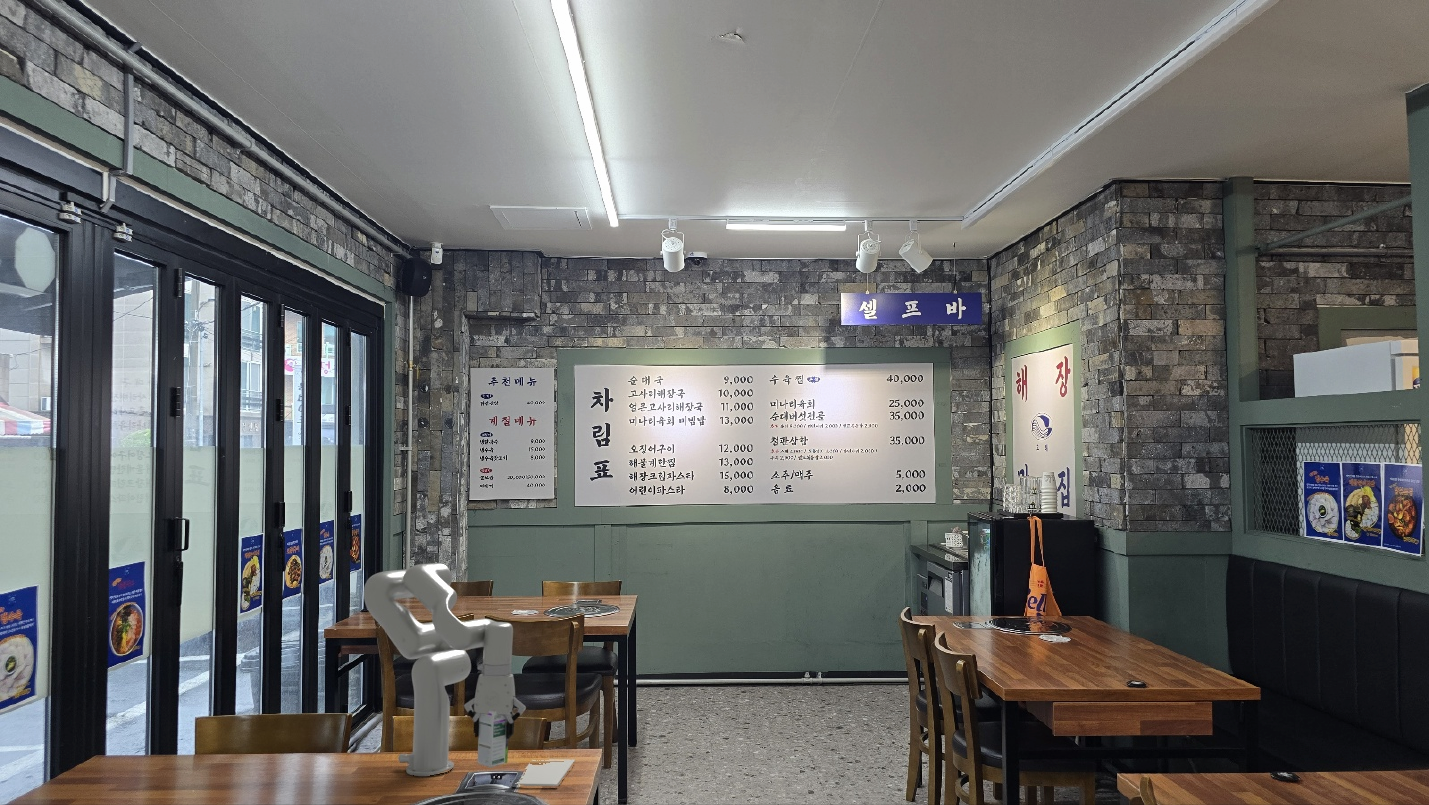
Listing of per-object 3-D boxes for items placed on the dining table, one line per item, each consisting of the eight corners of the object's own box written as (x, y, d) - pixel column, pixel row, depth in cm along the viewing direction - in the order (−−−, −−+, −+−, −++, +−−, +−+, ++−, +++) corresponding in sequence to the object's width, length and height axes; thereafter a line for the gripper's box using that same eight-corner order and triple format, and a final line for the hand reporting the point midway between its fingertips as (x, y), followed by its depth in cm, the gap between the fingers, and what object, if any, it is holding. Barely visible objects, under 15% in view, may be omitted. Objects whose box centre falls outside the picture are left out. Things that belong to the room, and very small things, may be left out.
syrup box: (490, 768, 232) (493, 711, 234) (476, 763, 236) (479, 707, 237) (507, 763, 237) (510, 707, 238) (493, 758, 240) (496, 703, 242)
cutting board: (511, 788, 230) (511, 783, 230) (533, 763, 252) (533, 758, 252) (557, 789, 229) (557, 784, 229) (575, 764, 251) (575, 759, 251)
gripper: (460, 671, 235) (456, 739, 234) (524, 674, 234) (521, 742, 233) (469, 665, 243) (466, 731, 241) (532, 668, 242) (529, 734, 240)
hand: (493, 736), depth 237 cm, fingers closed on syrup box, 7 cm apart
